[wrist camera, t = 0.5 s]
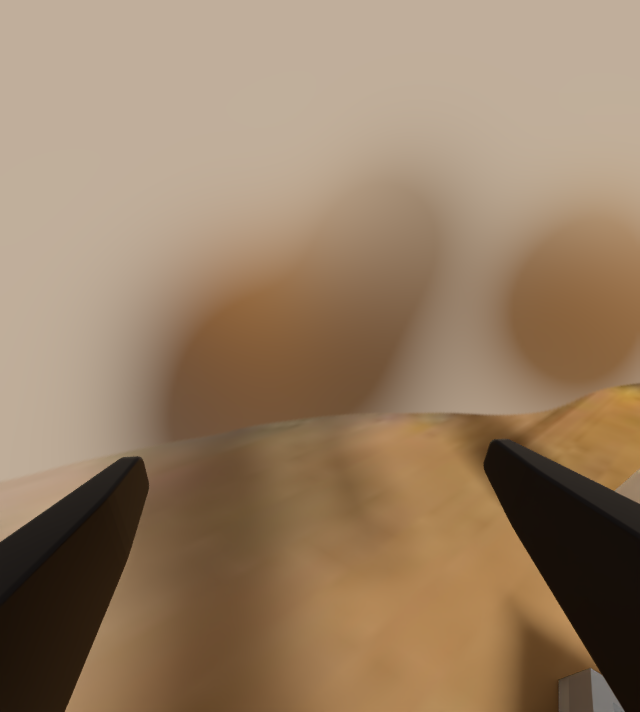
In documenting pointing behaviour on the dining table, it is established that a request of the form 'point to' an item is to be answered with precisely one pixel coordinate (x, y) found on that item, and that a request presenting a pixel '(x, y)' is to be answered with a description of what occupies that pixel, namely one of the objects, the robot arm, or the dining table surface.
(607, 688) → the dock tray
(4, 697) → the robot arm
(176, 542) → the dining table surface
